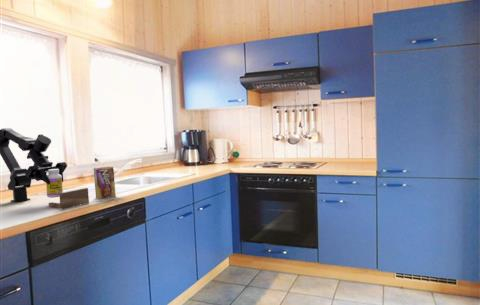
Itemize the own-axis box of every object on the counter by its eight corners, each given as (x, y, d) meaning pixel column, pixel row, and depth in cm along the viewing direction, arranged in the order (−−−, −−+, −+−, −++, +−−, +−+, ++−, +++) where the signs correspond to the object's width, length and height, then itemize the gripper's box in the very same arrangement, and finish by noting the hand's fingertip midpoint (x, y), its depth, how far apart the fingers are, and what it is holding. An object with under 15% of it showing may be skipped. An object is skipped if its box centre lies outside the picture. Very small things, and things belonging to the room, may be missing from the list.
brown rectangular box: (47, 207, 165) (46, 192, 165) (74, 201, 178) (73, 187, 177) (62, 209, 161) (61, 193, 160) (88, 202, 173) (87, 188, 172)
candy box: (112, 195, 190) (111, 166, 189) (116, 196, 187) (114, 166, 186) (95, 198, 185) (93, 167, 184) (98, 199, 181) (96, 168, 180)
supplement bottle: (48, 198, 168) (46, 170, 167) (46, 196, 174) (44, 169, 173) (64, 196, 172) (62, 169, 171) (61, 194, 178) (59, 168, 177)
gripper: (50, 168, 187) (66, 190, 183) (13, 172, 171) (30, 197, 166) (59, 152, 183) (76, 175, 179) (22, 156, 166) (40, 181, 162)
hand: (56, 182), depth 172 cm, fingers closed on supplement bottle, 7 cm apart
